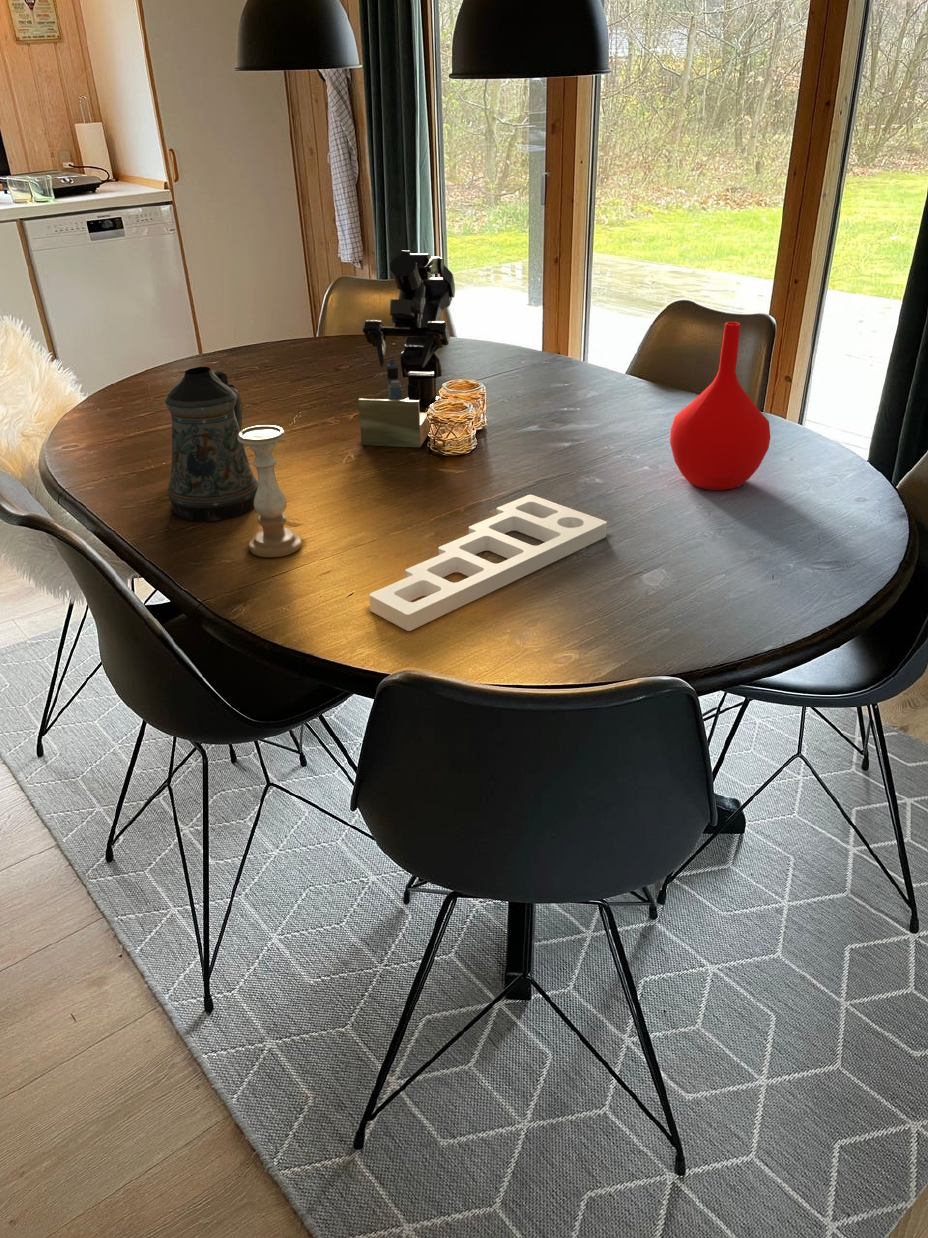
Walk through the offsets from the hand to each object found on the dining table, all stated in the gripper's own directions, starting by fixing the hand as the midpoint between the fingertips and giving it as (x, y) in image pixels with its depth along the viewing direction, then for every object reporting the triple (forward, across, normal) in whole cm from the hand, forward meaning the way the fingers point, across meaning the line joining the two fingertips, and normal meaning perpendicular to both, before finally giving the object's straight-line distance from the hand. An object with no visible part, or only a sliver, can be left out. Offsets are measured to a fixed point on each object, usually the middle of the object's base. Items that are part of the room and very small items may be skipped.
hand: (401, 366), depth 211 cm
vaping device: (+12, 0, +1) cm, 12 cm away
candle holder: (+56, -7, -36) cm, 67 cm away
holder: (+57, +28, -37) cm, 73 cm away
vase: (+28, +67, -8) cm, 73 cm away
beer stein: (+43, -26, -24) cm, 56 cm away
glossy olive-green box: (+15, 0, +4) cm, 16 cm away
